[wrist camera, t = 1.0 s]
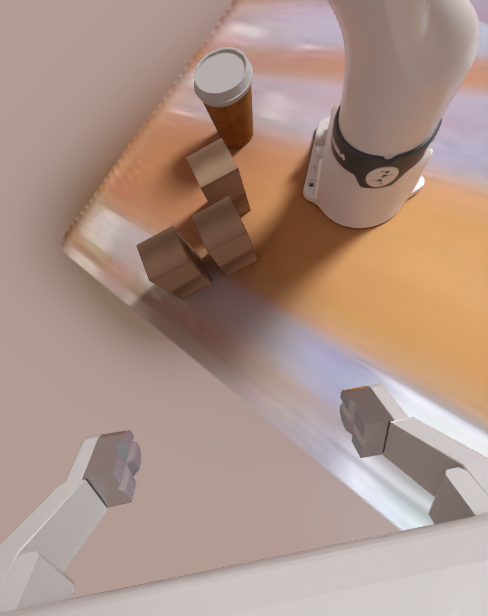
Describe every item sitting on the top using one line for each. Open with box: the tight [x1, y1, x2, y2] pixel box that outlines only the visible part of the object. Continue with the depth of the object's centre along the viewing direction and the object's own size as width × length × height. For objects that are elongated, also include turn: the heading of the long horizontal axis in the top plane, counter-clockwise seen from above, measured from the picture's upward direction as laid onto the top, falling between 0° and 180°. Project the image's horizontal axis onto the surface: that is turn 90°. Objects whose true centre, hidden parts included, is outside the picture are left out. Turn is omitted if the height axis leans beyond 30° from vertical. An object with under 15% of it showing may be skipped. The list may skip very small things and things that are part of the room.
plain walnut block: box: [136, 226, 212, 299], centre depth 43 cm, size 6×6×11 cm
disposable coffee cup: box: [194, 47, 253, 148], centre depth 47 cm, size 10×10×12 cm
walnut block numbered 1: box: [191, 196, 258, 276], centre depth 42 cm, size 6×6×11 cm
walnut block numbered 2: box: [186, 138, 250, 216], centre depth 45 cm, size 6×6×11 cm
